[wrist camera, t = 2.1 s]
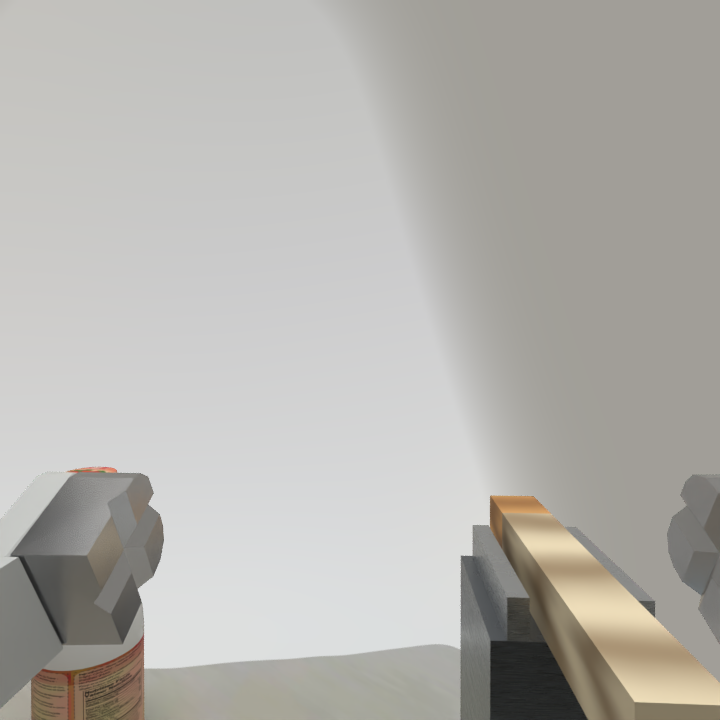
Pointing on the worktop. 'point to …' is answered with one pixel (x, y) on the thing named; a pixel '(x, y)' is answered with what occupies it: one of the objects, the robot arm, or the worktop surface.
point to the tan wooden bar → (599, 625)
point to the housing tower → (513, 639)
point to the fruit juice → (93, 676)
